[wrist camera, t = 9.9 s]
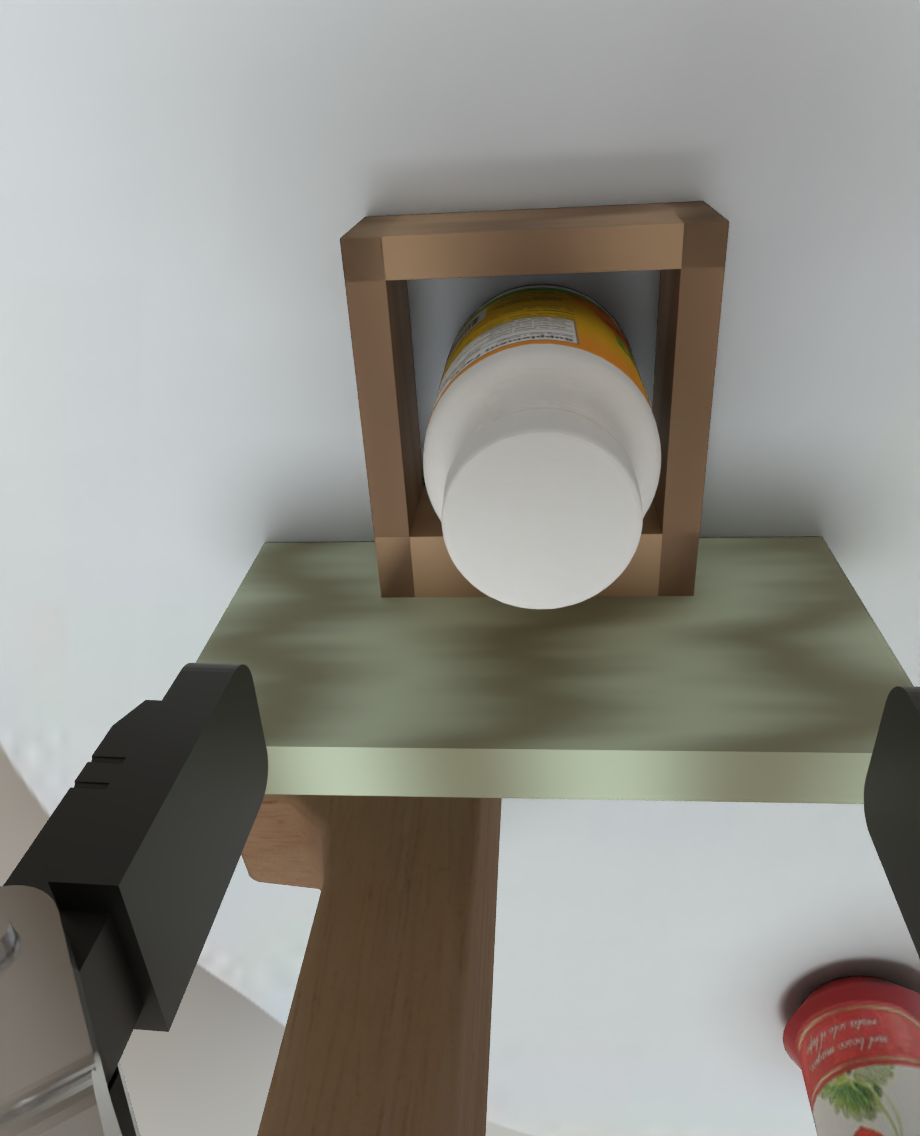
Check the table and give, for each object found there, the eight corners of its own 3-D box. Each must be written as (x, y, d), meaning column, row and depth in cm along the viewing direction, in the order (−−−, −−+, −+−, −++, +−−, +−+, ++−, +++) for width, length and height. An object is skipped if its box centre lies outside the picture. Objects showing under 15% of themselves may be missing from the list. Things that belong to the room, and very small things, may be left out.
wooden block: (281, 793, 35) (72, 1384, 19) (251, 705, 32) (-12, 1291, 17) (503, 781, 33) (475, 1402, 18) (488, 688, 31) (441, 1303, 16)
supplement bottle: (640, 446, 26) (691, 623, 18) (466, 473, 27) (436, 654, 19) (621, 264, 24) (670, 370, 15) (429, 300, 24) (376, 419, 16)
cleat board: (882, 192, 22) (1101, 270, 14) (814, 577, 28) (939, 805, 19) (204, 224, 24) (17, 311, 15) (271, 581, 30) (162, 792, 21)
